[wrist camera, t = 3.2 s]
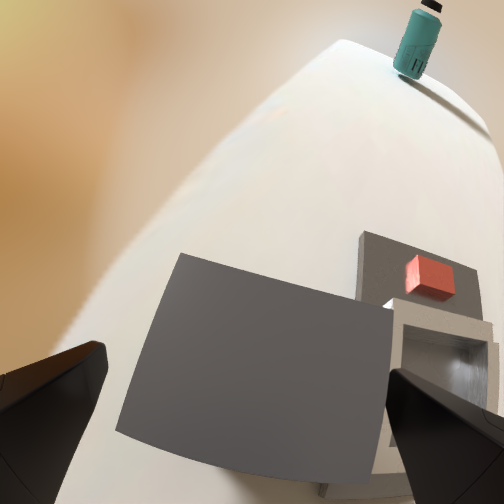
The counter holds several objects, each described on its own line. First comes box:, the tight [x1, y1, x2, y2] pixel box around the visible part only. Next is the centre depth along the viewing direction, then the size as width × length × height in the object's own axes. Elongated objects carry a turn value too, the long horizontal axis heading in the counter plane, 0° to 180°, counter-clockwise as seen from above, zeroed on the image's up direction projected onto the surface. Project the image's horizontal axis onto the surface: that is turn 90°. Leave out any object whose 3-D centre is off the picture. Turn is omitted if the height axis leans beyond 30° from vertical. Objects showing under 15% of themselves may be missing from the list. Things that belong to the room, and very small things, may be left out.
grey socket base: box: [319, 231, 499, 499], centre depth 15 cm, size 18×12×3 cm, turn 166°
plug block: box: [115, 253, 394, 484], centre depth 10 cm, size 4×5×11 cm
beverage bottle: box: [393, 0, 442, 80], centre depth 36 cm, size 6×7×20 cm
